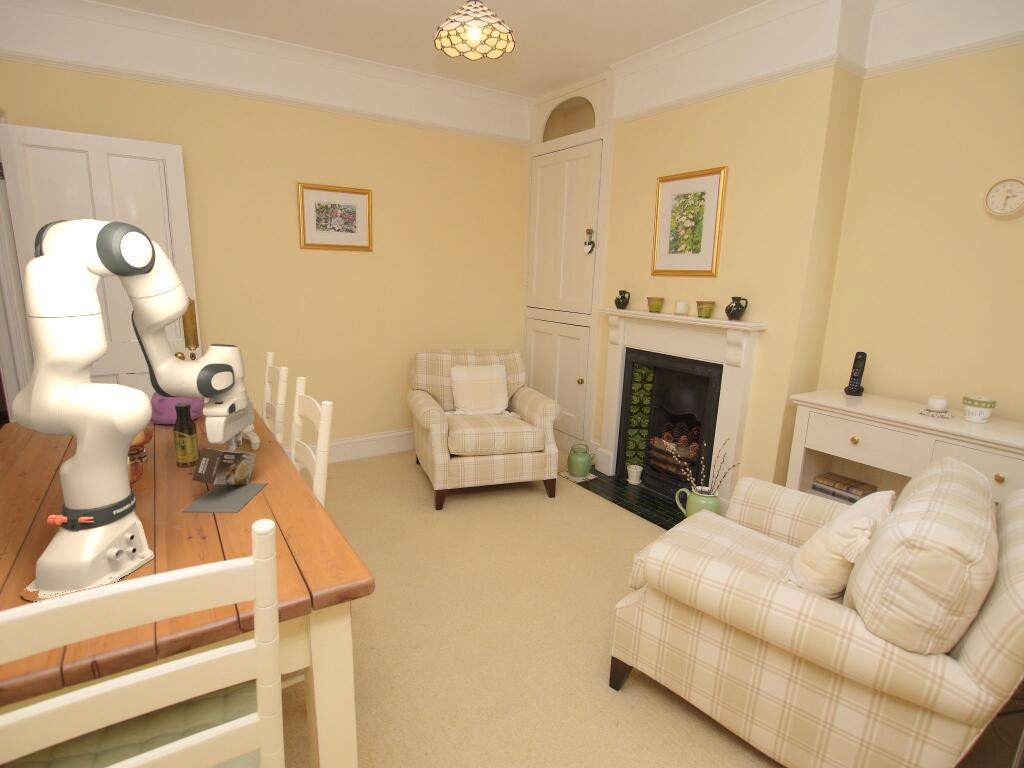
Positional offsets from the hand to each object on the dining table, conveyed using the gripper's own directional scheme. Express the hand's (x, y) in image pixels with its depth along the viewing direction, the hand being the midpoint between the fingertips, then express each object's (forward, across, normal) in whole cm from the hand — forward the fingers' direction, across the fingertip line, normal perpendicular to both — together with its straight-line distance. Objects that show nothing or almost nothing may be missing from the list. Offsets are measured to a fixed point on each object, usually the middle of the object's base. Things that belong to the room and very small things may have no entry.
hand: (235, 448), depth 148 cm
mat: (+12, +8, 0) cm, 14 cm away
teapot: (+13, -64, -53) cm, 84 cm away
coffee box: (+7, -3, 0) cm, 8 cm away
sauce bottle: (+12, -17, -24) cm, 31 cm away
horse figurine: (+13, -40, -17) cm, 45 cm away
